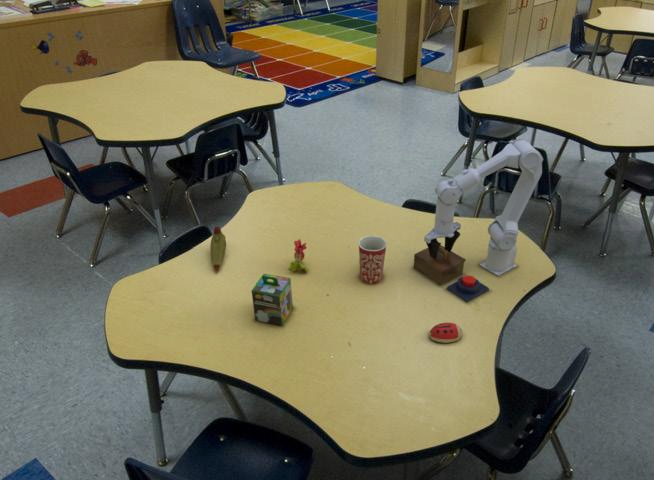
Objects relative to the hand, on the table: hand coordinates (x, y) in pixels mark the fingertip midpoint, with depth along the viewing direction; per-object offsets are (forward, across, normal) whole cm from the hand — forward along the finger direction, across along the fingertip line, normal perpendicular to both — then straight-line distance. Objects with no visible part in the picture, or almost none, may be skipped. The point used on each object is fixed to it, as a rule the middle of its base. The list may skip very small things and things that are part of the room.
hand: (440, 254), depth 191 cm
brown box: (+7, 0, 0) cm, 7 cm away
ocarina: (+7, -55, +52) cm, 76 cm away
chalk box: (+7, -56, +14) cm, 58 cm away
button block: (+7, 0, -13) cm, 15 cm away
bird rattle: (+7, -36, +30) cm, 47 cm away
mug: (+7, -19, +12) cm, 23 cm away
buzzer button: (+4, 0, -13) cm, 14 cm away
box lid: (+2, 0, 0) cm, 2 cm away
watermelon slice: (+7, -22, -24) cm, 33 cm away
